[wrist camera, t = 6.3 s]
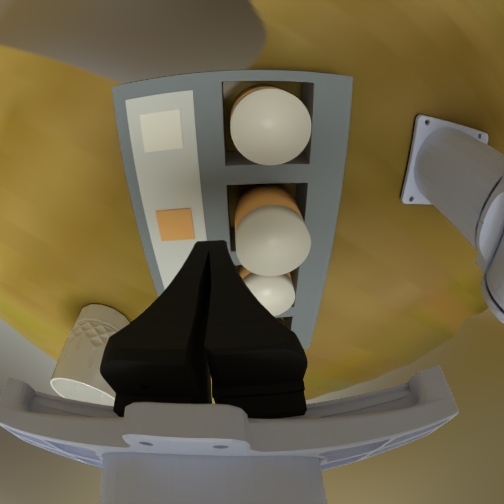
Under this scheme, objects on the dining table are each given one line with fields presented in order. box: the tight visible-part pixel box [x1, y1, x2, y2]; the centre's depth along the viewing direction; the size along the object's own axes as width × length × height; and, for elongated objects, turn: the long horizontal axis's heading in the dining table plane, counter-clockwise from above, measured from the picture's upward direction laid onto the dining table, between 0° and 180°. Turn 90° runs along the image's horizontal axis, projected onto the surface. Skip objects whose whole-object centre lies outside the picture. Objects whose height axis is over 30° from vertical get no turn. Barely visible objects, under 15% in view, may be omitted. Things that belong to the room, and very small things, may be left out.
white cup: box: [50, 304, 130, 406], centre depth 25 cm, size 8×8×10 cm
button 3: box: [237, 265, 295, 316], centre depth 24 cm, size 4×4×4 cm
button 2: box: [234, 185, 311, 276], centre depth 18 cm, size 4×4×4 cm
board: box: [112, 70, 353, 349], centre depth 22 cm, size 14×26×3 cm, turn 0°
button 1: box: [230, 84, 311, 165], centre depth 16 cm, size 4×4×4 cm
